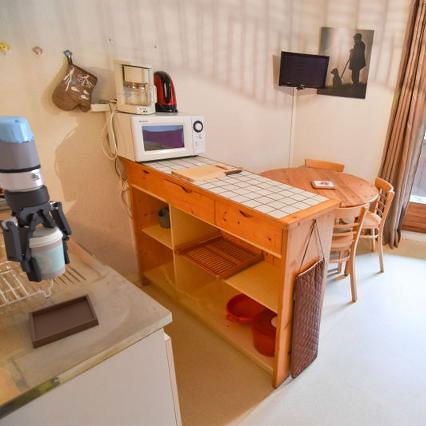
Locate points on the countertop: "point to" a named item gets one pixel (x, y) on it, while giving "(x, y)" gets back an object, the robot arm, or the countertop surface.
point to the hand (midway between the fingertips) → (50, 271)
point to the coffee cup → (48, 252)
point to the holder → (61, 320)
